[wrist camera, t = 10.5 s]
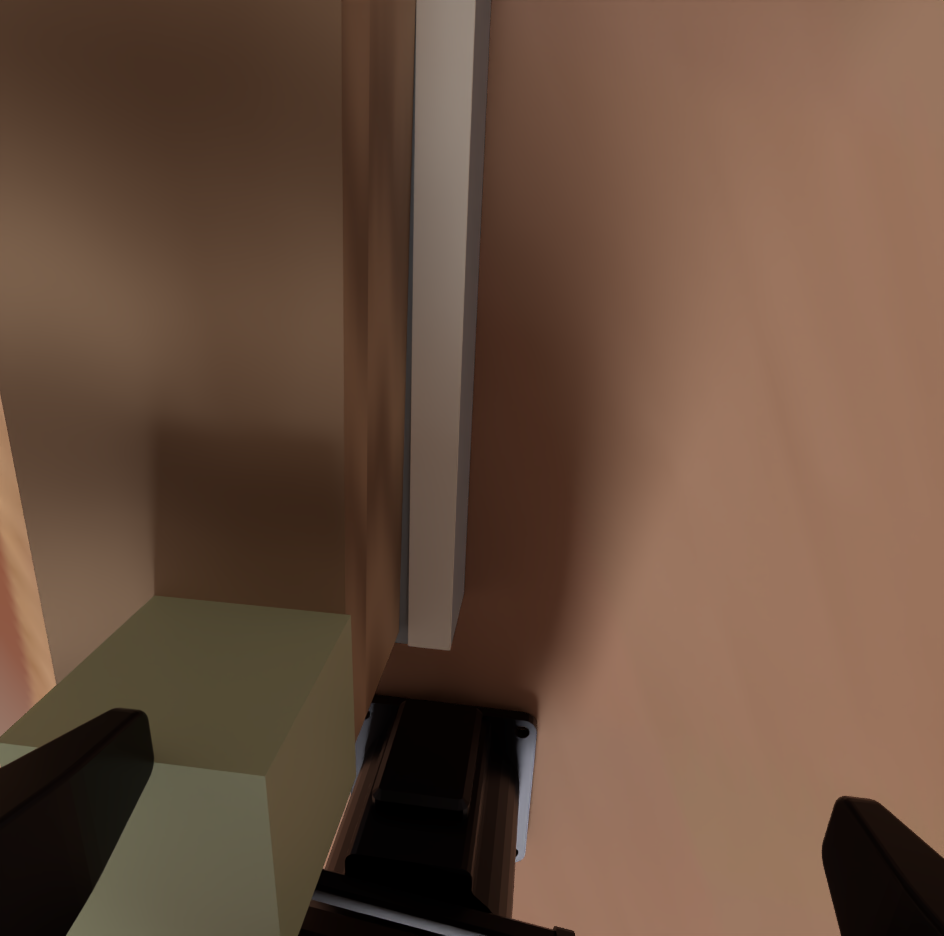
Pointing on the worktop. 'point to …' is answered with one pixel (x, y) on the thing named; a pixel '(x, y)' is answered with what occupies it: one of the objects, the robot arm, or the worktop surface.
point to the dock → (442, 312)
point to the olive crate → (216, 764)
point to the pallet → (208, 307)
